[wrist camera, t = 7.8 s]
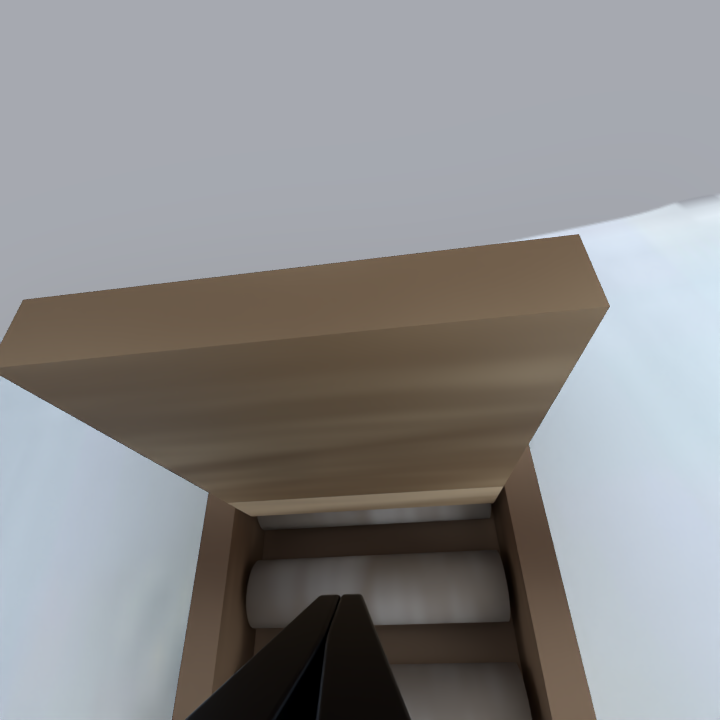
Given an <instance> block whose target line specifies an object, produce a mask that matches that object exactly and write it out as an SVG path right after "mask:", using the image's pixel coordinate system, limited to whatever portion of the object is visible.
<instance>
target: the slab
mask: <svg viewBox="0 0 720 720" xmlns="http://www.w3.org/2000/svg"><path fill="white" fill-rule="evenodd" d="M609 307H610V305H609V303H608V301H607V298H606V296H605V294H604V291H603V289H602V287H601V284H600V282H599V280H598V278H597V275H596V273H595V271H594V268H593V266H592V264H591V261H590V259H589V257H588V254H587V252H586V250H585V247H584V245H583V243H582V240H581V238H580V236H579V234H577V235H569V236H560V237H552V238H543V239H535V240H526V241H518V242H509V243H501V244H492V245H484V246H475V247H468V248H458V249H450V250H442V251H433V252H425V253H416V254H407V255H399V256H391V257H382V258H374V259H365V260H357V261H348V262H340V263H331V264H323V265H314V266H306V267H298V268H289V269H281V270H272V271H263V272H255V273H247V274H238V275H230V276H222V277H212V278H205V279H196V280H188V281H179V282H170V283H162V284H153V285H145V286H136V287H128V288H121V289H120V288H119V289H111V290H102V291H94V292H86V293H77V294H68V295H60V296H52V297H44V298H34V299H26V300H23V301H22V303H21V305H20V307H19V309H18V311H17V313H16V315H15V317H14V319H13V321H12V323H11V325H10V327H9V329H8V330H7V333H6V334H5V336H4V338H3V340H2V342H1V344H0V376H2V377H4V378H5V379H7V380H9V381H11V382H13V383H14V384H16V385H18V386H20V387H21V388H23V389H25V390H27V391H29V392H30V393H32V394H34V395H36V396H38V397H39V398H41V399H43V400H45V401H46V402H48V403H50V404H52V405H54V406H55V407H57V408H59V409H61V410H62V411H64V412H66V413H68V414H70V415H71V416H73V417H75V418H77V419H78V420H80V421H82V422H84V423H86V424H87V425H89V426H91V427H93V428H95V429H96V430H98V431H100V432H102V433H103V434H105V435H107V436H109V437H111V438H112V439H114V440H116V441H118V442H119V443H121V444H123V445H125V446H127V447H128V448H130V449H132V450H134V451H136V452H137V453H139V454H141V455H143V456H144V457H146V458H148V459H150V460H152V461H153V462H155V463H157V464H159V465H160V466H162V467H164V468H166V469H168V470H169V471H171V472H173V473H175V474H176V475H178V476H180V477H182V478H184V479H185V480H187V481H189V482H191V483H193V484H194V485H196V486H198V487H200V488H201V489H203V490H205V491H207V492H209V493H210V494H212V495H214V496H216V497H217V498H219V499H221V500H223V501H225V502H226V503H228V504H230V505H232V506H233V507H235V508H237V509H239V510H241V511H242V512H244V513H246V514H248V515H250V516H268V515H286V514H304V513H322V512H340V511H358V510H376V509H394V508H412V507H430V506H448V505H465V504H483V503H494V502H495V500H496V498H497V497H498V495H499V493H500V491H501V490H502V488H503V486H504V485H505V483H506V481H507V480H508V478H509V476H510V475H511V473H512V471H513V469H514V468H515V466H516V464H517V463H518V461H519V459H520V458H521V456H522V454H523V453H524V451H525V449H526V447H527V446H528V444H529V442H530V441H531V439H532V437H533V436H534V434H535V432H536V431H537V429H538V427H539V425H540V424H541V422H542V420H543V419H544V417H545V415H546V414H547V412H548V410H549V409H550V407H551V405H552V403H553V402H554V400H555V398H556V397H557V395H558V393H559V392H560V390H561V388H562V387H563V385H564V383H565V381H566V380H567V378H568V376H569V375H570V373H571V371H572V370H573V368H574V366H575V365H576V363H577V361H578V359H579V358H580V356H581V354H582V353H583V351H584V349H585V348H586V346H587V344H588V343H589V341H590V339H591V337H592V336H593V334H594V332H595V331H596V329H597V327H598V326H599V324H600V322H601V321H602V319H603V317H604V315H605V314H606V312H607V310H608V309H609Z"/></svg>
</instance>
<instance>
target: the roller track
mask: <svg viewBox="0 0 720 720" xmlns="http://www.w3.org/2000/svg"><path fill="white" fill-rule="evenodd" d="M332 594H337V595H339V596H340V597H341V596H342V595H344V594H361V595H362V596H363V598H364V601H365V603H366V606H367V608H368V611H369V614H370V616H371V619H372V621H373V624H374V626H375V629H376V631H377V634H378V636H379V639H380V641H381V644H382V647H383V649H384V652H385V654H386V657H387V659H388V662H389V664H390V667H391V669H392V672H393V675H394V677H395V680H396V682H397V685H398V687H399V690H400V692H401V695H402V697H403V700H404V703H405V705H406V708H407V710H408V713H409V715H410V718H411V720H596V716H595V712H594V708H593V704H592V700H591V696H590V691H589V687H588V683H587V679H586V675H585V671H584V667H583V663H582V659H581V655H580V651H579V647H578V643H577V639H576V635H575V631H574V627H573V623H572V618H571V614H570V610H569V606H568V602H567V598H566V594H565V590H564V586H563V582H562V578H561V574H560V570H559V566H558V562H557V558H556V554H555V549H554V545H553V541H552V537H551V533H550V529H549V525H548V521H547V517H546V513H545V509H544V505H543V501H542V497H541V493H540V489H539V485H538V481H537V476H536V472H535V468H534V464H533V460H532V456H531V452H530V448H529V444H528V446H527V447H526V449H525V451H524V453H523V454H522V456H521V458H520V459H519V461H518V463H517V464H516V466H515V468H514V469H513V471H512V473H511V475H510V476H509V478H508V480H507V481H506V483H505V485H504V486H503V488H502V490H501V491H500V493H499V495H498V497H497V498H496V500H495V502H494V503H483V504H465V505H448V506H430V507H412V508H394V509H376V510H358V511H340V512H322V513H304V514H286V515H268V516H250V515H248V514H246V513H244V512H242V511H241V510H239V509H237V508H235V507H233V506H232V505H230V504H228V503H226V502H225V501H223V500H221V499H219V498H217V497H216V496H214V495H212V494H210V493H209V494H208V500H207V506H206V512H205V518H204V525H203V531H202V537H201V543H200V549H199V555H198V562H197V568H196V574H195V580H194V586H193V592H192V599H191V605H190V611H189V617H188V623H187V630H186V636H185V642H184V648H183V654H182V660H181V667H180V673H179V679H178V685H177V691H176V697H175V704H174V710H173V716H172V720H185V719H186V718H187V717H188V716H189V715H190V714H191V713H192V712H193V711H194V710H196V709H197V708H198V707H199V706H200V705H201V704H202V703H203V702H204V701H205V700H206V699H208V698H209V697H210V696H211V695H212V694H213V693H214V692H215V691H216V690H217V689H218V688H220V687H221V686H222V685H223V684H224V683H225V682H226V681H227V680H228V679H229V678H230V677H231V676H233V675H234V674H235V673H236V672H237V671H238V670H239V669H240V668H241V667H242V666H243V665H245V664H246V663H247V662H248V661H249V660H250V659H251V658H252V657H253V656H254V655H255V654H257V653H258V652H259V651H260V650H261V649H262V648H263V647H264V646H265V645H266V644H267V643H268V642H270V641H271V640H272V639H273V638H274V637H275V636H276V635H277V634H278V633H279V632H280V631H282V630H283V629H284V628H285V627H286V626H287V625H288V624H289V623H290V622H291V621H292V620H294V619H295V618H296V617H297V616H298V615H299V614H300V613H301V612H302V611H303V610H304V609H305V608H307V607H308V606H309V605H310V604H311V603H312V602H313V601H314V600H315V599H316V598H317V597H319V596H320V595H332Z"/></svg>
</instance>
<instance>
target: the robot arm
mask: <svg viewBox="0 0 720 720" xmlns="http://www.w3.org/2000/svg"><path fill="white" fill-rule="evenodd" d="M185 720H411V718H410V715H409V713H408V710H407V708H406V705H405V703H404V700H403V697H402V695H401V692H400V690H399V687H398V685H397V682H396V680H395V677H394V675H393V672H392V669H391V667H390V664H389V662H388V659H387V657H386V654H385V652H384V649H383V647H382V644H381V641H380V639H379V636H378V634H377V631H376V629H375V626H374V624H373V621H372V619H371V616H370V614H369V611H368V608H367V606H366V603H365V601H364V598H363V596H362V595H361V594H344V595H342V596H341V597H340V596H339V595H337V594H332V595H320V596H319V597H317V598H316V599H315V600H314V601H313V602H312V603H311V604H310V605H309V606H308V607H307V608H305V609H304V610H303V611H302V612H301V613H300V614H299V615H298V616H297V617H296V618H295V619H294V620H292V621H291V622H290V623H289V624H288V625H287V626H286V627H285V628H284V629H283V630H282V631H280V632H279V633H278V634H277V635H276V636H275V637H274V638H273V639H272V640H271V641H270V642H268V643H267V644H266V645H265V646H264V647H263V648H262V649H261V650H260V651H259V652H258V653H257V654H255V655H254V656H253V657H252V658H251V659H250V660H249V661H248V662H247V663H246V664H245V665H243V666H242V667H241V668H240V669H239V670H238V671H237V672H236V673H235V674H234V675H233V676H231V677H230V678H229V679H228V680H227V681H226V682H225V683H224V684H223V685H222V686H221V687H220V688H218V689H217V690H216V691H215V692H214V693H213V694H212V695H211V696H210V697H209V698H208V699H206V700H205V701H204V702H203V703H202V704H201V705H200V706H199V707H198V708H197V709H196V710H194V711H193V712H192V713H191V714H190V715H189V716H188V717H187V718H186V719H185Z"/></svg>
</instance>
